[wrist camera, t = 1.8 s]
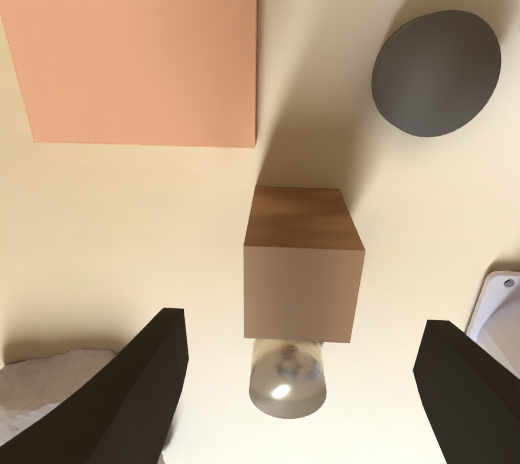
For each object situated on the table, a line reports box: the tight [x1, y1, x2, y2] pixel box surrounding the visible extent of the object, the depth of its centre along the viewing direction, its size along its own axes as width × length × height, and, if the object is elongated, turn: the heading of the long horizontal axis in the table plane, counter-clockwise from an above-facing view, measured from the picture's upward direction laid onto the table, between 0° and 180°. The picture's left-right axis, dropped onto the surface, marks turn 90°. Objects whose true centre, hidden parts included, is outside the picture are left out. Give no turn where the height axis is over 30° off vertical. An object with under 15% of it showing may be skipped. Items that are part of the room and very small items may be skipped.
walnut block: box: [244, 186, 365, 343], centre depth 15 cm, size 4×4×6 cm
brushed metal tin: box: [249, 338, 327, 419], centre depth 20 cm, size 4×4×4 cm
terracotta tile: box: [0, 0, 257, 148], centre depth 14 cm, size 10×10×1 cm
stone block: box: [0, 349, 165, 464], centre depth 24 cm, size 12×5×10 cm
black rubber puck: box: [372, 10, 501, 137], centre depth 14 cm, size 4×4×2 cm
